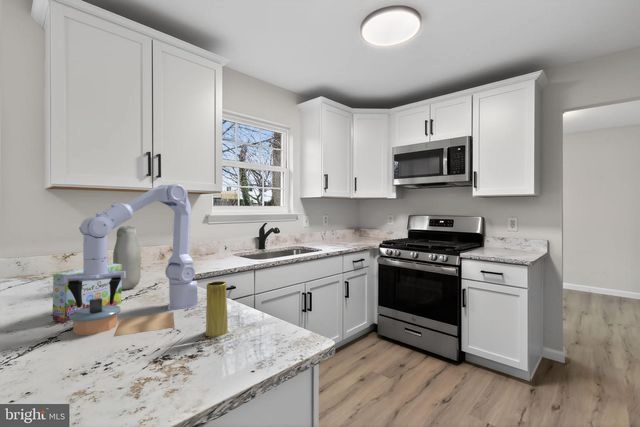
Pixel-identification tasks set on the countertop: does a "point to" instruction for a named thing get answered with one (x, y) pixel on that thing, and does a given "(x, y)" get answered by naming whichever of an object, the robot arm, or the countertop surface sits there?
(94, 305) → the lid
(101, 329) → the terracotta pot
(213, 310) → the vase
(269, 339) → the countertop surface
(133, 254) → the grey bottle
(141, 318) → the oak board
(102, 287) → the snack box
